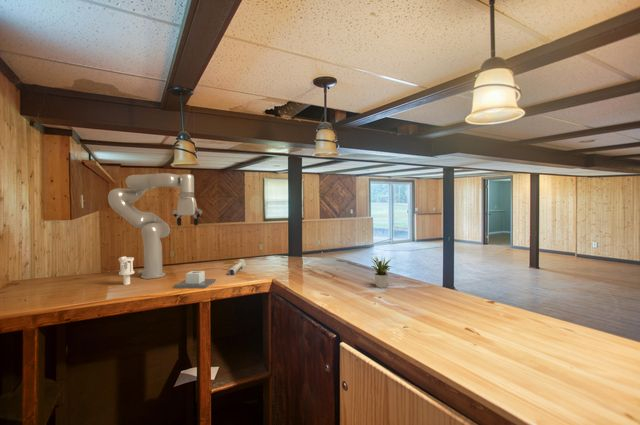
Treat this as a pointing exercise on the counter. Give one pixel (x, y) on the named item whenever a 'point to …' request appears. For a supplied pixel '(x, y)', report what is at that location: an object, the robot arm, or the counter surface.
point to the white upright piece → (126, 268)
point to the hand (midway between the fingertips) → (187, 225)
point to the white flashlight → (237, 267)
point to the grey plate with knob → (200, 285)
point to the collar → (195, 277)
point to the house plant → (381, 272)
